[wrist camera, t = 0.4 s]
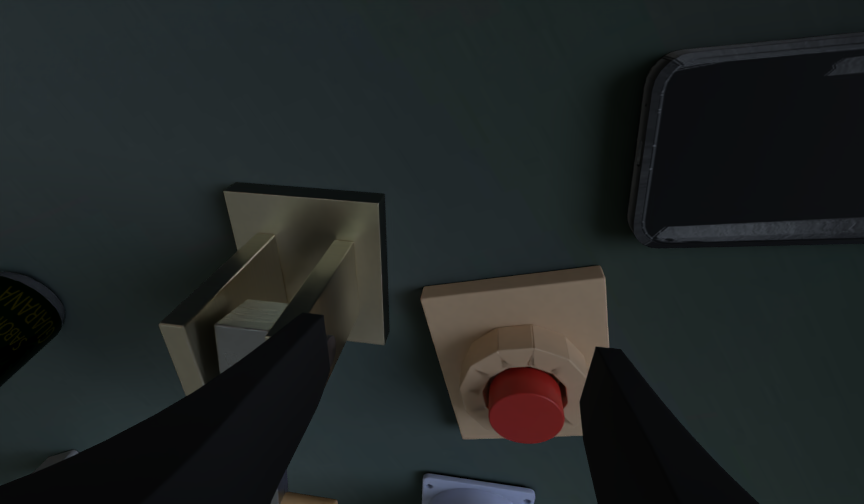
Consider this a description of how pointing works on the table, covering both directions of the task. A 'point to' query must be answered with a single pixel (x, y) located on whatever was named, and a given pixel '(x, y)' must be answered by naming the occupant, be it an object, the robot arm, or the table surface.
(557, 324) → the control block
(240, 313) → the lever
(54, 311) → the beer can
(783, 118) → the phone
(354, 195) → the bracket
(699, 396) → the table surface
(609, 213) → the table surface
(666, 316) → the table surface
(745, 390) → the table surface
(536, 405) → the button
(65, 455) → the lighter
